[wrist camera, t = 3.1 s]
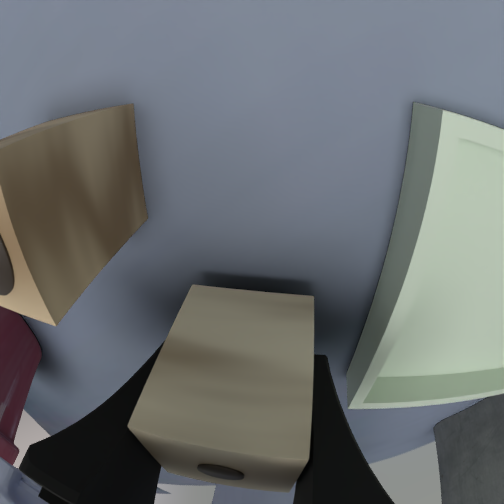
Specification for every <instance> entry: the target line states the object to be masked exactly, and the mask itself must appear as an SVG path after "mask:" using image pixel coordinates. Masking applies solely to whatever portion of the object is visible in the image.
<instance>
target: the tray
mask: <svg viewBox="0 0 504 504" xmlns="http://www.w3.org/2000/svg"><path fill="white" fill-rule="evenodd" d="M346 380H347V402H348V409H382V408H402V407H416V406H427V405H437V404H445V403H453V402H460V401H466V400H472V399H478V398H484V397H489V396H494V395H499V394H503V393H504V129H502V128H499V127H497V126H494V125H491V124H488V123H485V122H483V121H480V120H477V119H474V118H471V117H467V116H464V115H461V114H458V113H454V112H451V111H447V110H444V109H440V108H436V107H432V106H428V105H424V104H420V103H416V102H413V112H412V121H411V130H410V138H409V145H408V152H407V159H406V165H405V171H404V177H403V183H402V188H401V193H400V198H399V203H398V208H397V213H396V217H395V222H394V226H393V230H392V234H391V239H390V243H389V246H388V250H387V254H386V258H385V262H384V265H383V269H382V272H381V276H380V279H379V283H378V286H377V289H376V293H375V296H374V299H373V302H372V305H371V308H370V311H369V314H368V317H367V320H366V323H365V326H364V329H363V332H362V334H361V337H360V340H359V343H358V345H357V348H356V351H355V353H354V356H353V358H352V361H351V363H350V366H349V368H348V371H347V373H346Z"/></svg>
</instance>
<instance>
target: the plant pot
mask: <svg viewBox="0 0 504 504" xmlns="http://www.w3.org/2000/svg"><path fill="white" fill-rule="evenodd" d="M41 357H42V353H41V348H40V346H39V343H38V341H37V339H36V337H35V336H34V334H33V332H32V331H31V329H30V328H29V327H28V325H27V324H26V322H25V321H24V320H23V318H22V317H21V316H20V315H19V313H17V312H15V311H12V310H10V309H7V308H4V307H2V306H0V457H2V458H3V459H4V460H6V461H7V462H8V463H10V464H11V465H13V464H14V462H15V460H16V458H17V456H18V454H19V449H18V448H17V447H16V446H15V445H14V439H15V435H16V431H17V428H18V425H19V421H20V418H21V415H22V411H23V408H24V405H25V401H26V398H27V395H28V392H29V389H30V386H31V383H32V380H33V377H34V374H35V372H36V369H37V366H38V364H39V362H40V360H41Z"/></svg>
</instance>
